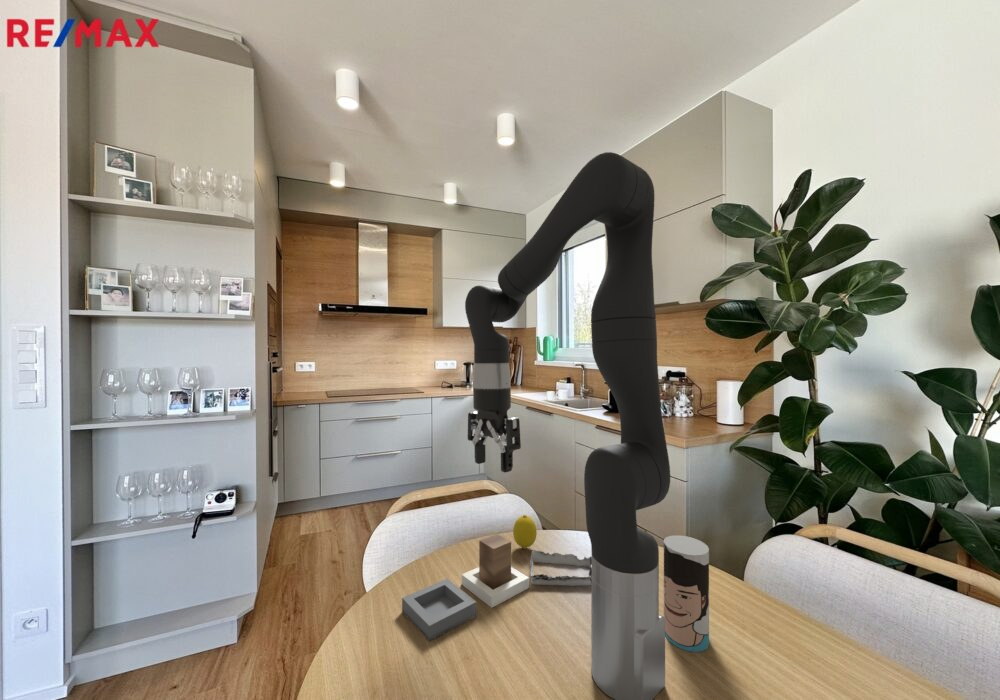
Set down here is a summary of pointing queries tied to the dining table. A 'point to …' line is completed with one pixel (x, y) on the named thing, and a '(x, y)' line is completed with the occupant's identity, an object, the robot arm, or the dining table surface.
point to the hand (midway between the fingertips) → (492, 467)
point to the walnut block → (494, 561)
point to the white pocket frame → (499, 594)
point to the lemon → (524, 531)
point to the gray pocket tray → (438, 608)
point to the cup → (686, 592)
